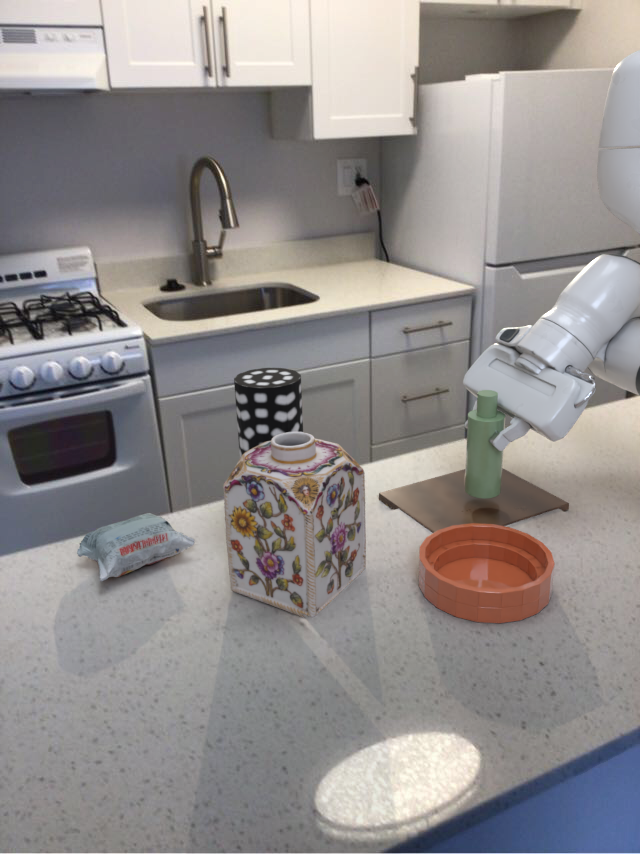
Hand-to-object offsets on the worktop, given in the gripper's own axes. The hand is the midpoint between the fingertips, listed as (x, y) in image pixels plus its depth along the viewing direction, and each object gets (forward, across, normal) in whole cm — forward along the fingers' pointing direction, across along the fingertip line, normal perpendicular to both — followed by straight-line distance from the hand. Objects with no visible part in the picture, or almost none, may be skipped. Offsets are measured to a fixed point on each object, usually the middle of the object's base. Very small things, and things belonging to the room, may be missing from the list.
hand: (481, 438), depth 99 cm
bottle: (+5, 0, -6) cm, 8 cm away
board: (+7, +1, -7) cm, 10 cm away
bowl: (+14, -18, 0) cm, 23 cm away
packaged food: (+39, +3, +25) cm, 47 cm away
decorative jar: (+27, -9, +13) cm, 31 cm away
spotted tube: (+26, +7, +12) cm, 29 cm away
